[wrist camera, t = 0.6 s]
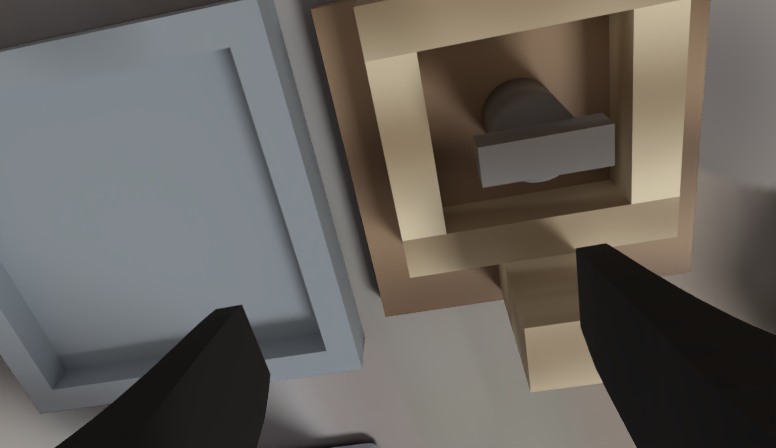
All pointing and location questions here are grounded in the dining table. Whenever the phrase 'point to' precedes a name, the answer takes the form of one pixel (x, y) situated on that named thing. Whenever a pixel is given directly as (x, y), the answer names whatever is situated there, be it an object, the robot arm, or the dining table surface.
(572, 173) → the base
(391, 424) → the dining table surface
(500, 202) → the tan frame with tab
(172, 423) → the robot arm
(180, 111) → the slate tray
